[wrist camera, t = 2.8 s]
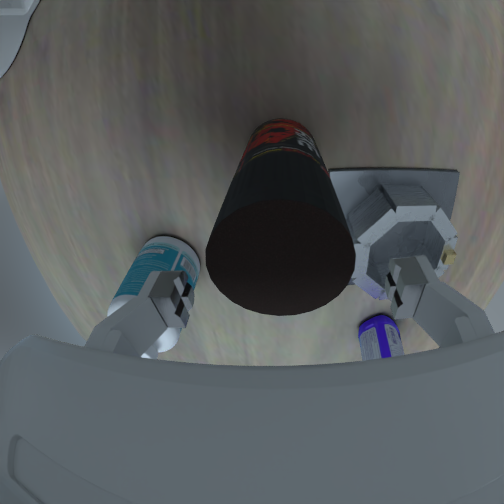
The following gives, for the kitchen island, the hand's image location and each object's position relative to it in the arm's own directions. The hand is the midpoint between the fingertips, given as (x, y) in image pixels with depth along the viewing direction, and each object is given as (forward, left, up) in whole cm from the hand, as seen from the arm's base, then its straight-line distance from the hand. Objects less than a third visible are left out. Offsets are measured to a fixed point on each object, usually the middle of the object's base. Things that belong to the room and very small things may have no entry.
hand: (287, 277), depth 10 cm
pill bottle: (+11, -14, -16) cm, 24 cm away
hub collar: (+9, +11, -15) cm, 21 cm away
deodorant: (0, 0, -16) cm, 16 cm away
